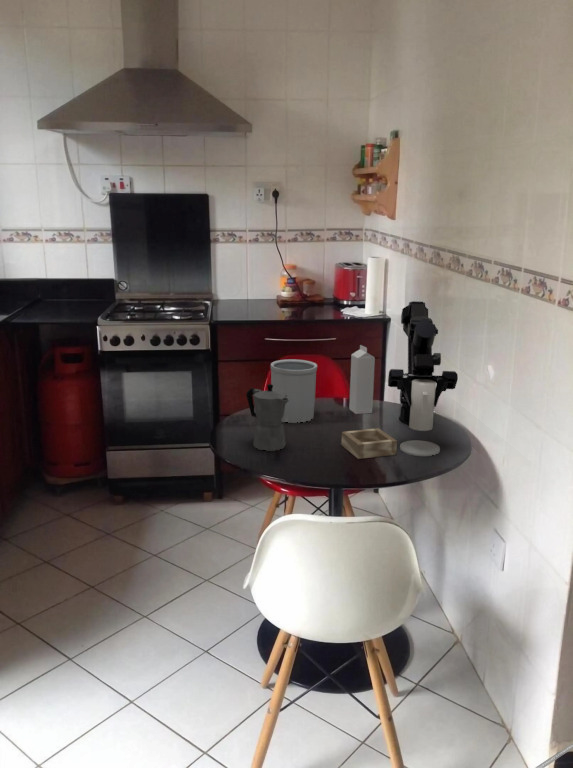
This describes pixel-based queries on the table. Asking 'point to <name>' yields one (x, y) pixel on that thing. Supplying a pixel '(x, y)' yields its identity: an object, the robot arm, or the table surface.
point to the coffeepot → (268, 417)
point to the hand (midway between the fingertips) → (422, 405)
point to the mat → (419, 448)
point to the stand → (369, 443)
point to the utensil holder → (295, 387)
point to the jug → (422, 404)
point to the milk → (362, 381)
